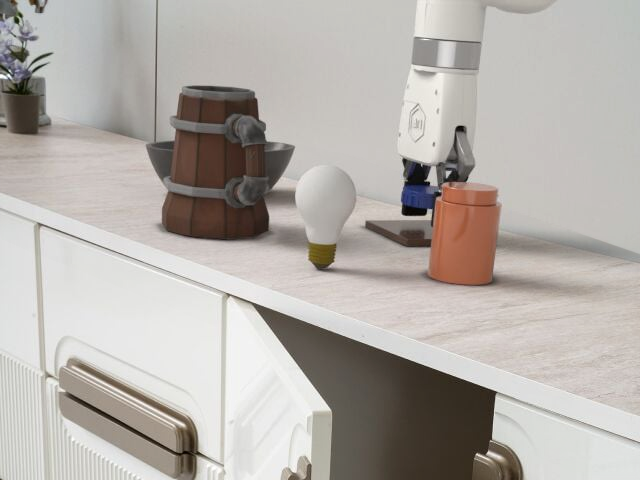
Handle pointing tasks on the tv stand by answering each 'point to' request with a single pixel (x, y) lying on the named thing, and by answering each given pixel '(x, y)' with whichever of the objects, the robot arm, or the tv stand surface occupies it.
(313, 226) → the light bulb
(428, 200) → the lid
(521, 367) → the tv stand surface
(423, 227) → the plate
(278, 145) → the bowl
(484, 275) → the jar
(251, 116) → the mug
